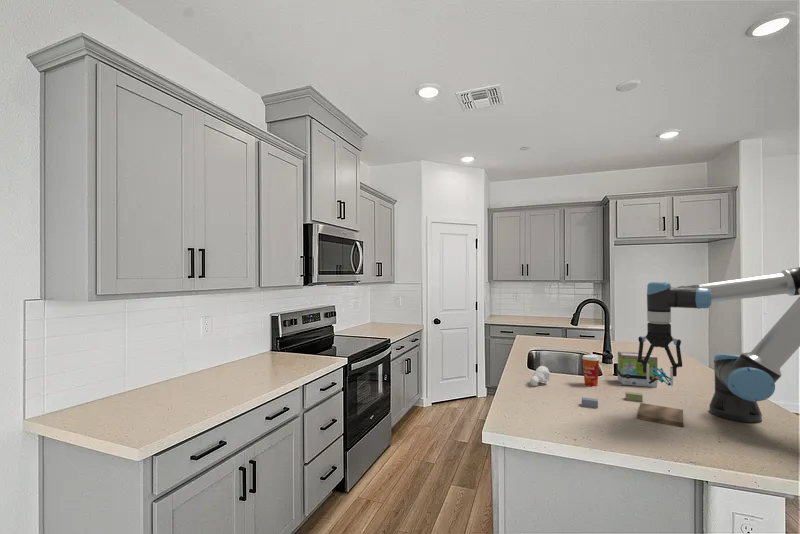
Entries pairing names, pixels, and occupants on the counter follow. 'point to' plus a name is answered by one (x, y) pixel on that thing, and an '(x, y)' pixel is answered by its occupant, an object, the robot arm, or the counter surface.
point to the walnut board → (660, 414)
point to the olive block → (634, 396)
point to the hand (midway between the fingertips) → (659, 382)
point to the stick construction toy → (659, 376)
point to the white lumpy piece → (540, 376)
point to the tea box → (635, 369)
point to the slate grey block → (590, 402)
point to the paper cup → (590, 369)
